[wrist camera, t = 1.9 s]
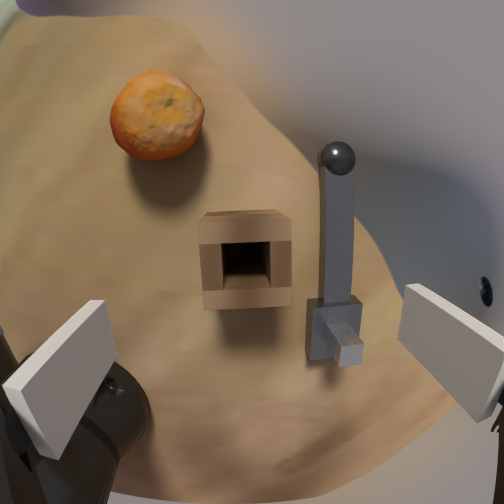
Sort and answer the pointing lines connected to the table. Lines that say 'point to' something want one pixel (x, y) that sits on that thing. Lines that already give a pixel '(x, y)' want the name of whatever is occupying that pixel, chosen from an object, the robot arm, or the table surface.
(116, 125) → the fruit
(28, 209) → the table surface
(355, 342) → the grey lever handle
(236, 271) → the socket collar
